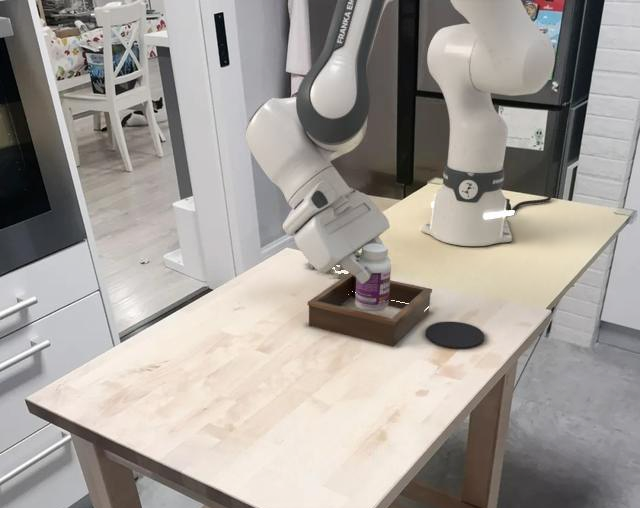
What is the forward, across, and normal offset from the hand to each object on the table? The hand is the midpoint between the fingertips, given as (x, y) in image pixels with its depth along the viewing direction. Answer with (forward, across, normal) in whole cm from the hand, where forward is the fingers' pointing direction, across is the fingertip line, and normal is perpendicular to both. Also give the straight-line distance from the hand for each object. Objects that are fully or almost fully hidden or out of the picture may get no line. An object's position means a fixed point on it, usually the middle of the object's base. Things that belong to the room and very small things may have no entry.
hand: (377, 273), depth 111 cm
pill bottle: (+4, 0, -4) cm, 6 cm away
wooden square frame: (+5, 0, -6) cm, 8 cm away
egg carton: (-6, -17, -17) cm, 25 cm away
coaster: (+15, -1, +4) cm, 16 cm away
